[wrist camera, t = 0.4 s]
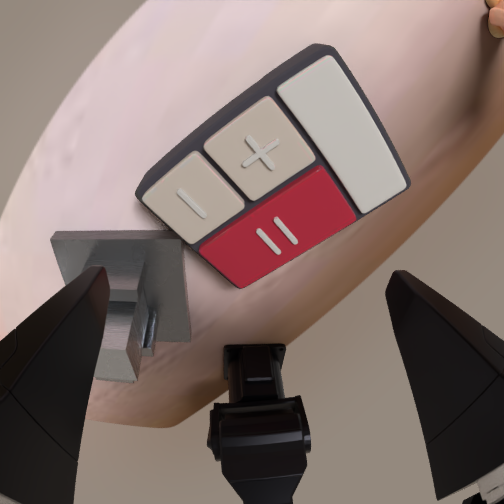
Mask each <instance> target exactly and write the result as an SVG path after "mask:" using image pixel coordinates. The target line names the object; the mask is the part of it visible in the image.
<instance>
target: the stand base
mask: <svg viewBox="0 0 504 504" xmlns="http://www.w3.org/2000/svg"><path fill="white" fill-rule="evenodd" d="M50 241H51V244H52V247H53V250H54V254H55V257H56V260H57V263H58V265H59V268H60V271H61V274H62V277H63V280H64V282H65V285H67V284H68V283H70V282H71V281H72V280H73V279H75V278H76V277H77V276H78V275H80V274H81V273H82V272H84V271H85V270H86V269H87V268H89V267H90V266H92V265H100V266H104V267H105V269H106V272H107V277H108V281H109V285H110V298H109V301H127V302H139V301H140V297H141V293H142V289H144V293H145V298H146V303H147V308H148V312H149V317H148V322H147V328H146V333H145V339H144V344H143V350H142V356H151V357H153V356H154V349H155V342H156V341H165V342H191V325H190V316H189V306H188V295H187V284H186V273H185V260H184V247H183V240H182V239H181V238H180V237H179V236H178V235H176V234H175V233H174V232H173V231H172V230H131V231H56V232H55V233H54V235H53V236H52V238H51V239H50Z"/></svg>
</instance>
